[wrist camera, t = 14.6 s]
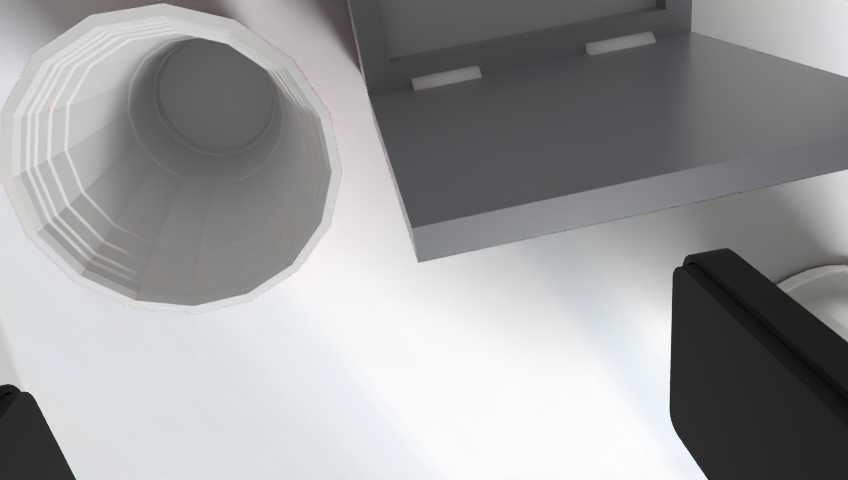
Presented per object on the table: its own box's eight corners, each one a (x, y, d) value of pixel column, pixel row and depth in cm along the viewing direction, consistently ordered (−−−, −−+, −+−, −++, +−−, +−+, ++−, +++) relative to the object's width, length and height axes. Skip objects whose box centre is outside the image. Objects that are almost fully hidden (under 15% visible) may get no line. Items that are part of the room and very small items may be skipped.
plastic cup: (364, 151, 35) (387, 254, 24) (174, 224, 35) (114, 358, 24) (277, -61, 30) (258, -51, 19) (56, 25, 30) (-86, 83, 19)
